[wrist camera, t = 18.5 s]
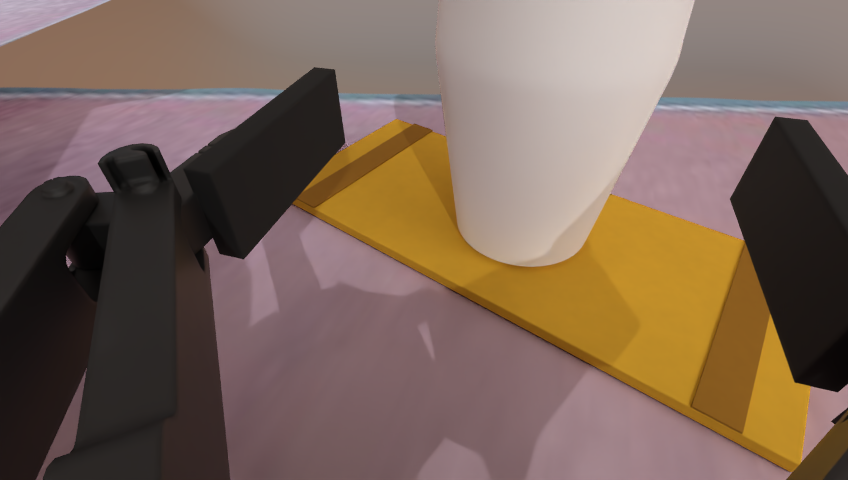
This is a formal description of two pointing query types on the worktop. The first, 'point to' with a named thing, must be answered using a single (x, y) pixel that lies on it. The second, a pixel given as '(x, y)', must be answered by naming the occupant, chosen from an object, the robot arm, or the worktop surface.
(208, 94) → the worktop surface
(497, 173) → the cup
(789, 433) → the towel
